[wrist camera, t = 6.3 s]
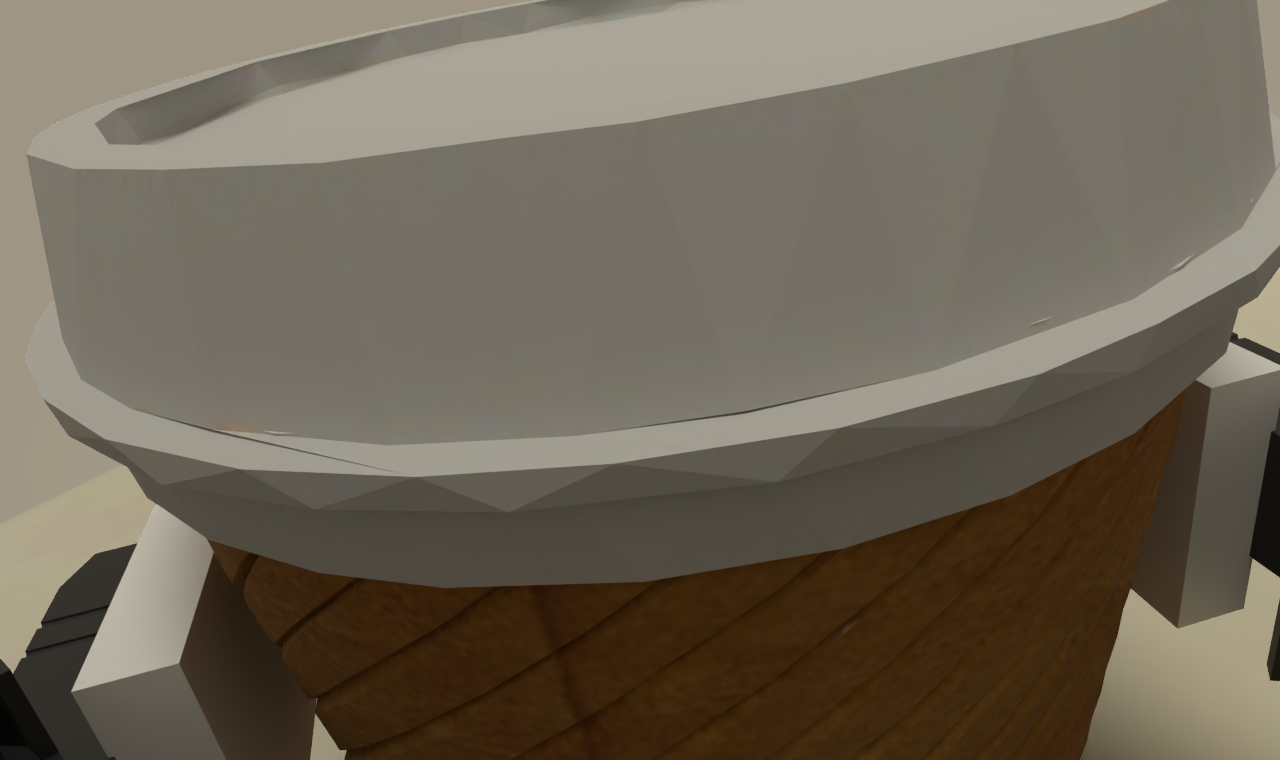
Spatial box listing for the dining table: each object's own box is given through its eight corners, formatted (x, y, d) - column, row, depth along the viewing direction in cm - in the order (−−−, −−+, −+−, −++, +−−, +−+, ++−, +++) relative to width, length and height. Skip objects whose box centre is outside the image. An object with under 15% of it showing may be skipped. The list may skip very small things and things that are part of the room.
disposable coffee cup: (663, 623, 19) (551, -14, 13) (1209, 823, 13) (1379, -116, 8) (259, 1074, 12) (-270, 173, 7) (1012, 1834, 7) (1253, 321, 1)
